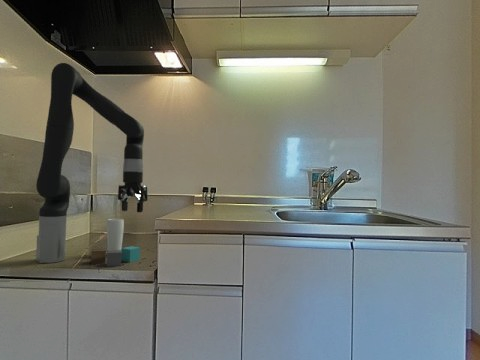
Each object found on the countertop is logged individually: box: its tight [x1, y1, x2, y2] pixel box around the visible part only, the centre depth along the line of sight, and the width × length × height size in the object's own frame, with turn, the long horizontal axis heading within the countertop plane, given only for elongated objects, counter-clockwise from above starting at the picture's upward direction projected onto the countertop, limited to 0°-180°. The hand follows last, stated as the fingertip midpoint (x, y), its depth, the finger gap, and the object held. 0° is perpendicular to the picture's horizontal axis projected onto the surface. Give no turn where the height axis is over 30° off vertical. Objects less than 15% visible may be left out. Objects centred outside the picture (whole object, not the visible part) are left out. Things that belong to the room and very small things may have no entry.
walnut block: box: [90, 247, 107, 265], centre depth 129 cm, size 5×5×5 cm
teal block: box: [121, 245, 141, 263], centre depth 133 cm, size 5×5×5 cm
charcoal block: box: [106, 249, 122, 268], centre depth 126 cm, size 5×5×5 cm
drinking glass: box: [106, 218, 125, 250], centre depth 142 cm, size 7×7×15 cm
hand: (132, 211), depth 134 cm, fingers open, 8 cm apart
